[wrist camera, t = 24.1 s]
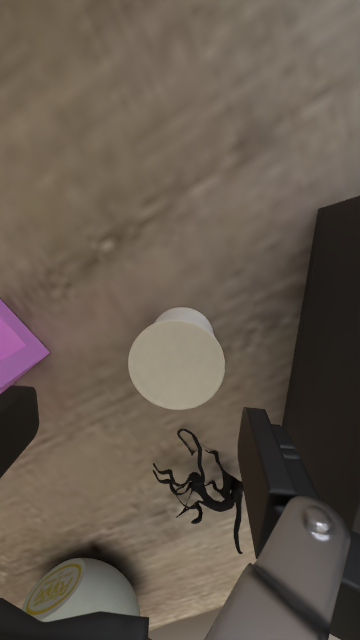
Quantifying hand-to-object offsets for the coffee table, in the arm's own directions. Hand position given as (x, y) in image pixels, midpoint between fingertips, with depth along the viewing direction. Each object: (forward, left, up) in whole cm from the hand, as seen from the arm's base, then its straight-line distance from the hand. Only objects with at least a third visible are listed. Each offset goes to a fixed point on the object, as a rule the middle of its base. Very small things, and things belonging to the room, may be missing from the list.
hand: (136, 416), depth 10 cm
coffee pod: (+1, 0, -11) cm, 11 cm away
